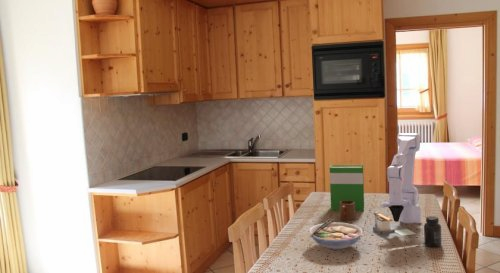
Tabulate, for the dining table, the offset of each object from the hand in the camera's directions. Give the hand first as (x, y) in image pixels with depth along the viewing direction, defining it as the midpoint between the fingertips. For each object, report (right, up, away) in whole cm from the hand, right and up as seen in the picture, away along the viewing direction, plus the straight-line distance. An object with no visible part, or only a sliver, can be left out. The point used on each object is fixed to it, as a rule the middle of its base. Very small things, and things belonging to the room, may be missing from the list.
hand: (396, 221), depth 206 cm
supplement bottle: (+11, -8, -15) cm, 20 cm away
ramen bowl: (-30, -9, -11) cm, 33 cm away
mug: (-18, -5, +23) cm, 29 cm away
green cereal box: (-13, -2, +45) cm, 46 cm away
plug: (-5, -5, +3) cm, 8 cm away
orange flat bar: (-5, +1, +3) cm, 6 cm away
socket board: (-2, -6, +3) cm, 7 cm away
